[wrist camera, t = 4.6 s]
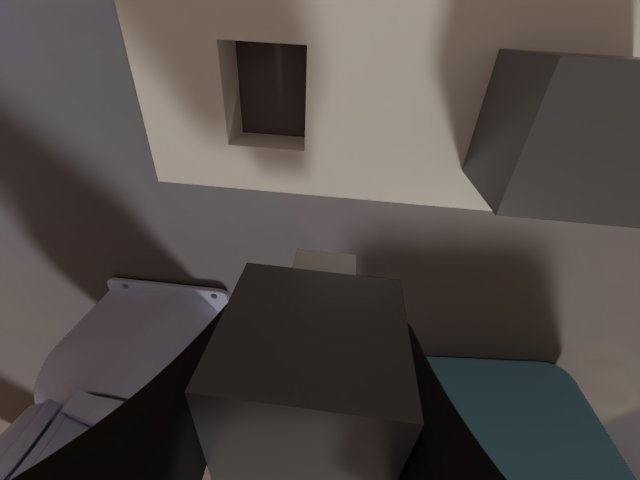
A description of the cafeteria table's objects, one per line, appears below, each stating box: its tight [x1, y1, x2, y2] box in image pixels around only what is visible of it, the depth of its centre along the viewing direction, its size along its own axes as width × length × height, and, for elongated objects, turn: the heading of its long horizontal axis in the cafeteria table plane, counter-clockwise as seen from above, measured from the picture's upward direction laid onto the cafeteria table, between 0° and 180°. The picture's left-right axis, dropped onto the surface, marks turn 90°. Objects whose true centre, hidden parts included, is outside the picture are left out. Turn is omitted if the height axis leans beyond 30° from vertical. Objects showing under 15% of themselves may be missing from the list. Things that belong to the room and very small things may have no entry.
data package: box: [426, 356, 637, 480], centre depth 22 cm, size 12×4×12 cm, turn 93°
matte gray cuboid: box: [185, 249, 424, 480], centre depth 11 cm, size 5×5×7 cm
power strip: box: [114, 0, 640, 228], centre depth 13 cm, size 28×9×7 cm, turn 87°
